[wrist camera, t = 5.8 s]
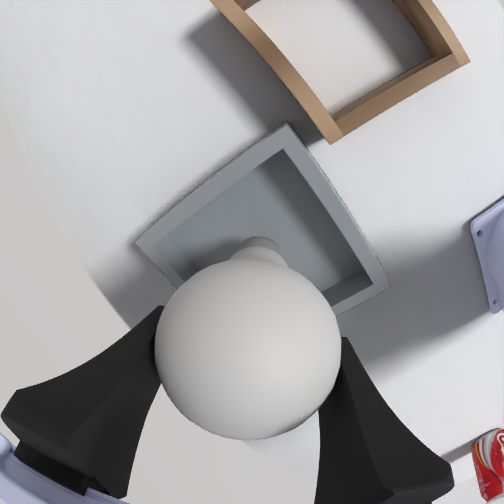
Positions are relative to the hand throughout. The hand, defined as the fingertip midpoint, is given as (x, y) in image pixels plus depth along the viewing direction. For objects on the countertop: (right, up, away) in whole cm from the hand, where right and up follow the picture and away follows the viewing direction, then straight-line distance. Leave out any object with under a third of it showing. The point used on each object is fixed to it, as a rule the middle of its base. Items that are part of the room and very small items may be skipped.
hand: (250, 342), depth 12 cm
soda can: (+38, -26, +19) cm, 50 cm away
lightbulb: (+1, +4, +6) cm, 7 cm away
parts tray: (+1, +4, +7) cm, 8 cm away
